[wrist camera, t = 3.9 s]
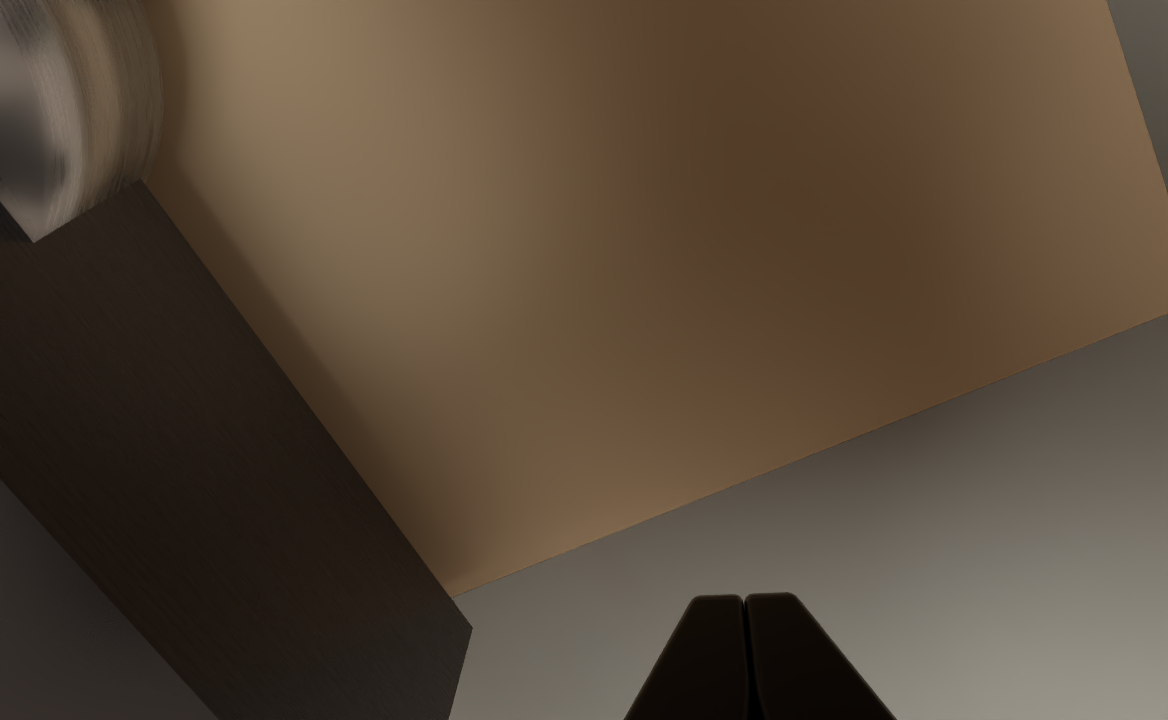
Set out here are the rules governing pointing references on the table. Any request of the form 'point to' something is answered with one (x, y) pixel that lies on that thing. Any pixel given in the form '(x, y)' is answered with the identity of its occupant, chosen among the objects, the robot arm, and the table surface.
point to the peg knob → (168, 442)
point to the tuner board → (647, 232)
